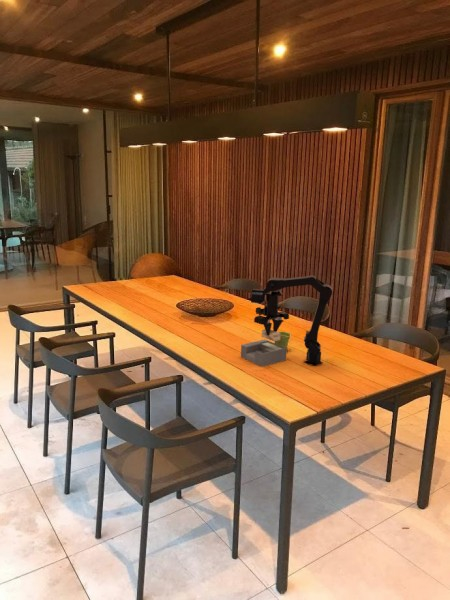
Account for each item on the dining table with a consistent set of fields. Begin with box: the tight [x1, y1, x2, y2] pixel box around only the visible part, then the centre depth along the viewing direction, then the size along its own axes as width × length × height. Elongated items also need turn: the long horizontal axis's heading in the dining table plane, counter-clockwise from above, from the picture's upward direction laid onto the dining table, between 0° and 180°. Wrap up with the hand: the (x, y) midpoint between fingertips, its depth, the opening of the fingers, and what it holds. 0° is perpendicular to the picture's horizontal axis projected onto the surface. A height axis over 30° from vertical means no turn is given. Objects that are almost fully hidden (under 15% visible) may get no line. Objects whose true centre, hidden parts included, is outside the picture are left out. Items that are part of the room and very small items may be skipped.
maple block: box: [261, 329, 280, 342], centre depth 237 cm, size 9×4×4 cm, turn 38°
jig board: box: [240, 339, 288, 368], centre depth 239 cm, size 16×16×6 cm
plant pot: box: [274, 331, 292, 349], centre depth 253 cm, size 9×9×9 cm
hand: (271, 334), depth 237 cm, fingers closed on maple block, 4 cm apart
